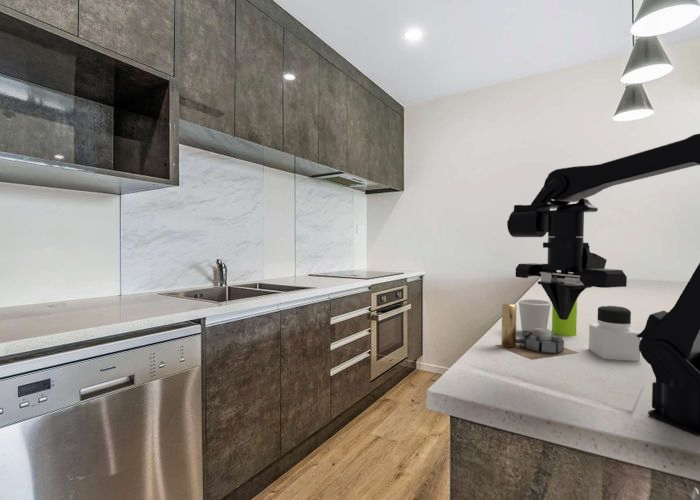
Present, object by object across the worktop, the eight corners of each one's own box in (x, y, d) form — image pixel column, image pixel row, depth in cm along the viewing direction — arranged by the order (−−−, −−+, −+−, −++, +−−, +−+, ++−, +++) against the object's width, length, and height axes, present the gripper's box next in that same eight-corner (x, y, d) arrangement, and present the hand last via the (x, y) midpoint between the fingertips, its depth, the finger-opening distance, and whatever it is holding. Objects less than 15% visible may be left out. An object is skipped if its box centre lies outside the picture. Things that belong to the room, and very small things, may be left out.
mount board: (579, 356, 82) (579, 333, 82) (531, 364, 77) (531, 339, 77) (539, 343, 92) (539, 323, 92) (494, 349, 87) (495, 327, 87)
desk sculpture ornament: (569, 353, 80) (570, 309, 80) (506, 350, 82) (507, 307, 82) (553, 342, 89) (554, 303, 88) (497, 340, 91) (497, 301, 90)
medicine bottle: (640, 365, 76) (641, 310, 76) (603, 363, 78) (604, 309, 77) (621, 355, 83) (623, 304, 83) (588, 353, 85) (589, 303, 84)
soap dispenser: (555, 339, 96) (557, 266, 95) (549, 333, 103) (550, 264, 102) (580, 341, 94) (582, 267, 94) (572, 334, 101) (573, 265, 100)
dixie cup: (521, 340, 95) (521, 303, 95) (514, 332, 104) (514, 298, 103) (555, 342, 94) (556, 304, 93) (545, 334, 102) (545, 299, 101)
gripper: (649, 237, 60) (647, 327, 61) (553, 237, 78) (552, 308, 78) (604, 236, 56) (601, 333, 57) (514, 237, 74) (512, 311, 74)
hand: (563, 319), depth 67 cm, fingers closed
